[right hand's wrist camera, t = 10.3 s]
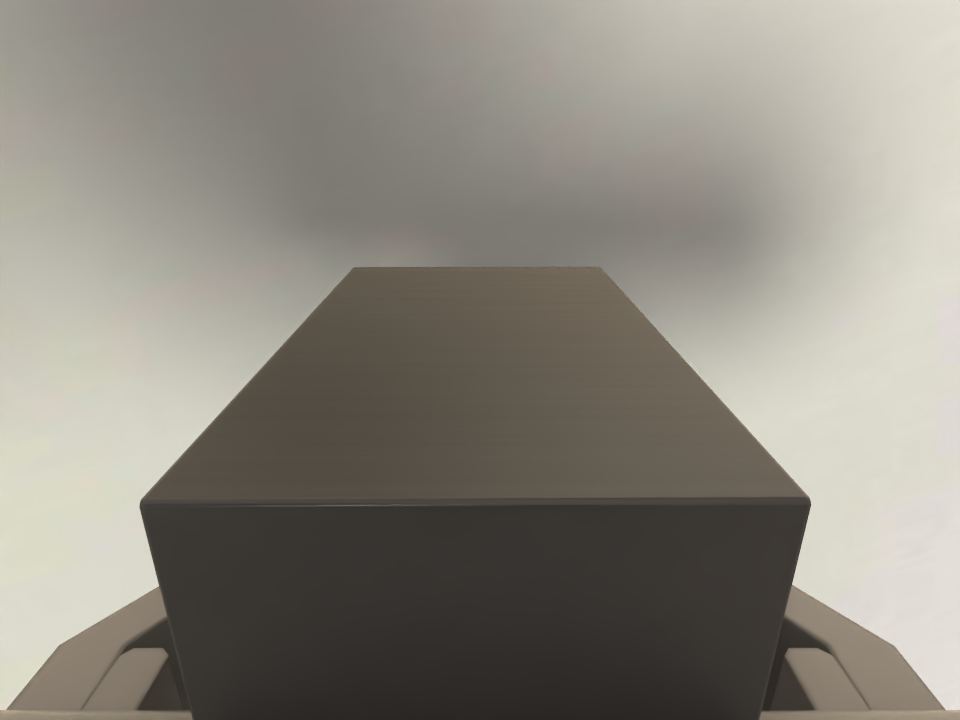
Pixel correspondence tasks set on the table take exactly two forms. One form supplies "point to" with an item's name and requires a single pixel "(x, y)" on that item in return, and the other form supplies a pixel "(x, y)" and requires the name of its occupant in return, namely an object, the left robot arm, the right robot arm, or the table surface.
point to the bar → (475, 516)
